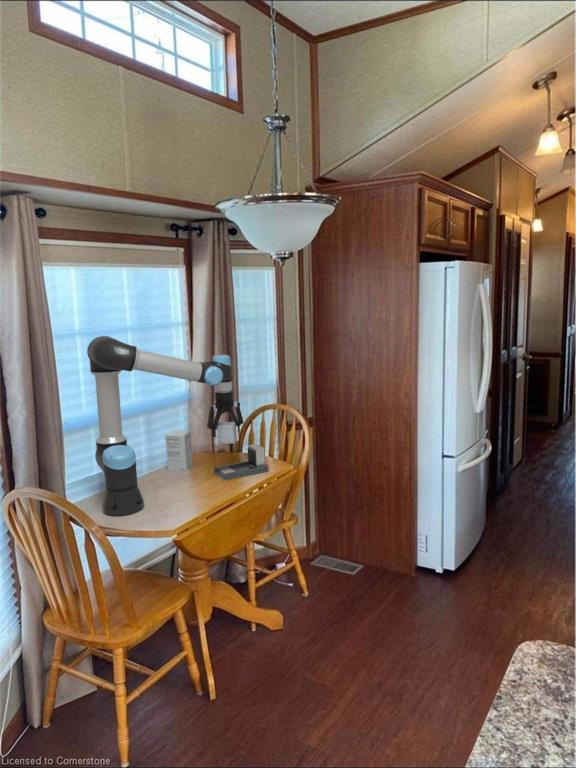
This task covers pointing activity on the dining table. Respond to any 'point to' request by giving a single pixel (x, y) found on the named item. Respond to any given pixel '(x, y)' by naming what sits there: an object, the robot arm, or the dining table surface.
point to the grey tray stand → (244, 465)
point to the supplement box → (179, 450)
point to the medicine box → (226, 432)
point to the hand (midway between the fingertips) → (226, 441)
